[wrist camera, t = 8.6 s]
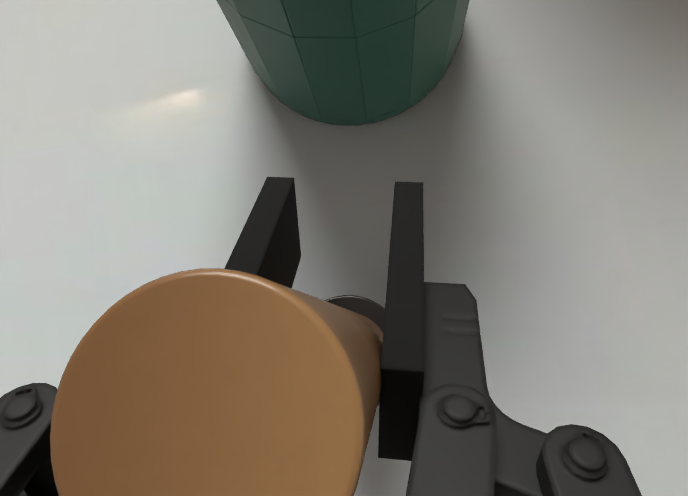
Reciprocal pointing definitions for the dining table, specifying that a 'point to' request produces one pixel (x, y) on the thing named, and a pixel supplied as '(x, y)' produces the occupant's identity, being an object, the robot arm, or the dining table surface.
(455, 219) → the dining table surface
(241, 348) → the brush
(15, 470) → the robot arm
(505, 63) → the dining table surface
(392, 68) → the jar
